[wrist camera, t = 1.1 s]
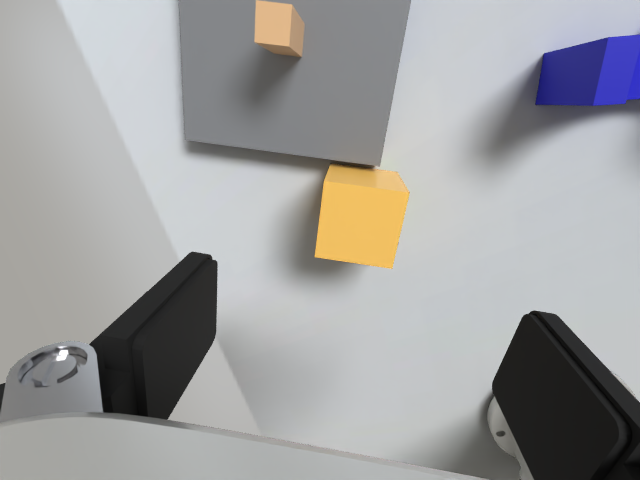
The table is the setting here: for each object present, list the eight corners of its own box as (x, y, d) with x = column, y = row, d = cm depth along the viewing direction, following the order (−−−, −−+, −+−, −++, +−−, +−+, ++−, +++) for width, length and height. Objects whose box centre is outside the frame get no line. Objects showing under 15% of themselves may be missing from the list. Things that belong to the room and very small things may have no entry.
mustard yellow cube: (384, 233, 27) (392, 268, 21) (322, 225, 27) (314, 257, 21) (397, 172, 25) (409, 192, 19) (330, 163, 25) (323, 180, 19)
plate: (378, 162, 25) (385, 180, 19) (194, 137, 25) (149, 148, 20) (425, -93, 19) (455, -173, 13) (185, -118, 19) (119, -204, 14)
